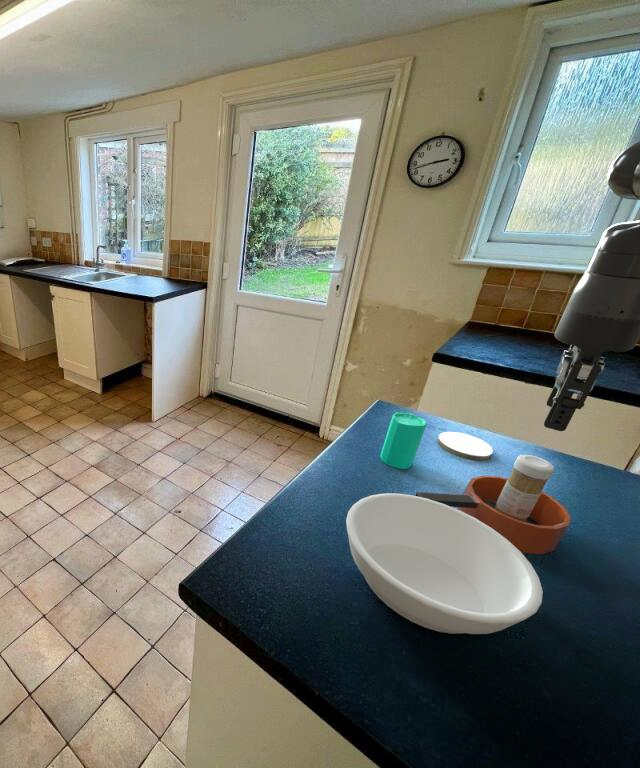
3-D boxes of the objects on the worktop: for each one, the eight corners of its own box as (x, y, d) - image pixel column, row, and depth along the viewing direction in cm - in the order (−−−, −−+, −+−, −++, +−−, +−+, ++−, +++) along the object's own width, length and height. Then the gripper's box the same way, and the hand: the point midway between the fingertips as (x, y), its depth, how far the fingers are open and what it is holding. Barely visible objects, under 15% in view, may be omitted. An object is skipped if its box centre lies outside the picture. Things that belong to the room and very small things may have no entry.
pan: (516, 501, 78) (528, 477, 76) (578, 557, 66) (594, 531, 64) (393, 493, 80) (401, 470, 78) (431, 546, 68) (442, 521, 66)
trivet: (472, 436, 99) (474, 432, 98) (502, 461, 90) (504, 457, 89) (428, 434, 100) (429, 430, 99) (453, 458, 91) (455, 454, 90)
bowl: (338, 514, 75) (349, 477, 72) (494, 560, 66) (515, 520, 62) (329, 617, 57) (343, 574, 54) (542, 701, 48) (575, 656, 44)
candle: (417, 470, 87) (434, 420, 82) (386, 467, 88) (402, 418, 83) (404, 453, 92) (420, 406, 87) (375, 451, 93) (389, 404, 88)
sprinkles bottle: (514, 518, 74) (547, 456, 68) (526, 536, 70) (561, 472, 65) (483, 512, 76) (513, 451, 70) (493, 529, 72) (525, 466, 66)
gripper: (658, 327, 47) (592, 447, 54) (645, 303, 56) (589, 408, 63) (566, 315, 52) (516, 426, 58) (568, 294, 61) (524, 393, 68)
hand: (554, 417), depth 61 cm, fingers open, 8 cm apart
